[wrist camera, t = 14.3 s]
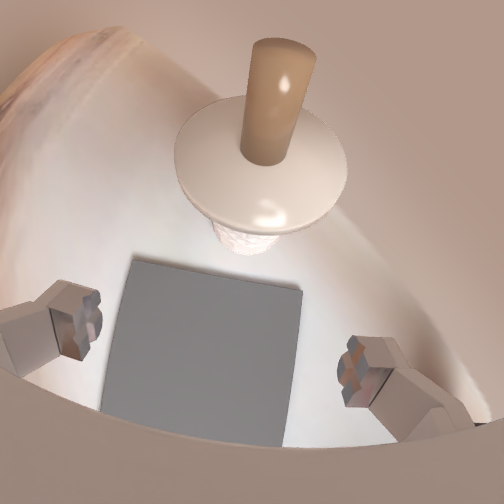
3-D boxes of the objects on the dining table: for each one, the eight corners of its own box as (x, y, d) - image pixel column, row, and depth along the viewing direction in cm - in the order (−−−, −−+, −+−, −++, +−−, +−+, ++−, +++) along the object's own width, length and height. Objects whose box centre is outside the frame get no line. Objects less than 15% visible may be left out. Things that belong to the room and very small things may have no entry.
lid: (154, 218, 18) (118, 108, 9) (199, 97, 22) (199, 4, 14) (342, 250, 18) (420, 165, 10) (338, 123, 23) (375, 39, 15)
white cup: (208, 190, 31) (207, 121, 21) (282, 192, 31) (306, 126, 22) (207, 261, 28) (203, 206, 18) (290, 261, 29) (323, 208, 19)
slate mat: (101, 425, 20) (98, 425, 20) (134, 261, 27) (132, 259, 26) (277, 460, 21) (278, 462, 21) (301, 292, 27) (303, 290, 27)
